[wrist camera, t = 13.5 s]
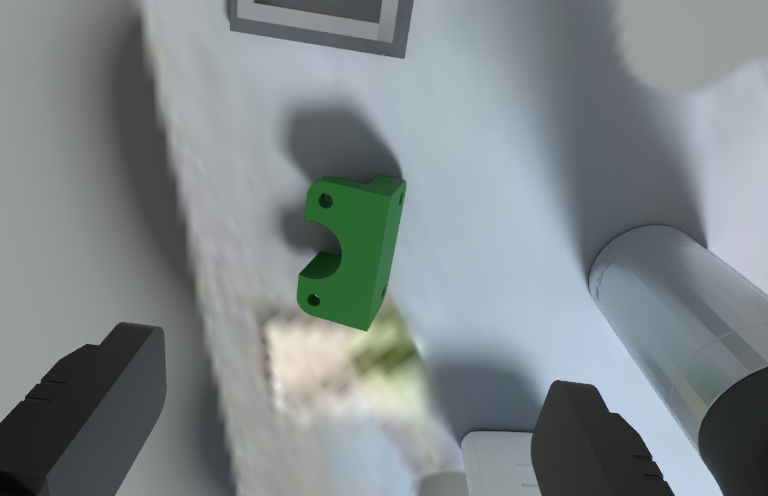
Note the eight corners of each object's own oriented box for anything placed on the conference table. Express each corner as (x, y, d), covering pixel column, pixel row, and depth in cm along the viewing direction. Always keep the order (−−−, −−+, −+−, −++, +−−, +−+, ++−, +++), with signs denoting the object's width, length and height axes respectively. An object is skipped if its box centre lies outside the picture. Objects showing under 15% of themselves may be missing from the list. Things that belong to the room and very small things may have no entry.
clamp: (346, 171, 44) (315, 152, 35) (412, 187, 43) (397, 172, 34) (313, 304, 45) (274, 317, 36) (377, 322, 44) (353, 341, 35)
